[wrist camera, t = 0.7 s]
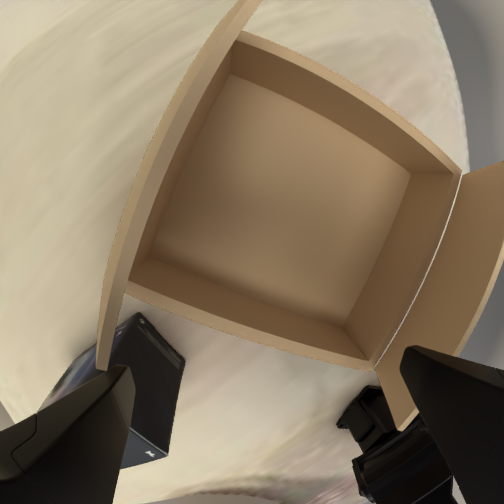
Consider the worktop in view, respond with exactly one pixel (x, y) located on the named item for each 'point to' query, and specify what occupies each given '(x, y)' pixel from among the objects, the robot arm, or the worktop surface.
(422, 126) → the worktop surface
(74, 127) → the worktop surface
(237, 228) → the carton
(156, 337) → the small box
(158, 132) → the flap near
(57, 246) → the worktop surface
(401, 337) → the flap far
